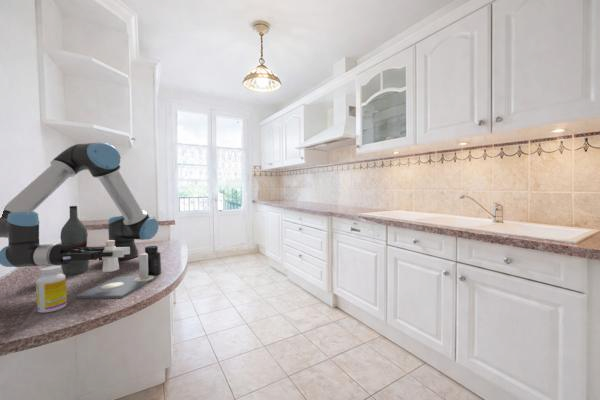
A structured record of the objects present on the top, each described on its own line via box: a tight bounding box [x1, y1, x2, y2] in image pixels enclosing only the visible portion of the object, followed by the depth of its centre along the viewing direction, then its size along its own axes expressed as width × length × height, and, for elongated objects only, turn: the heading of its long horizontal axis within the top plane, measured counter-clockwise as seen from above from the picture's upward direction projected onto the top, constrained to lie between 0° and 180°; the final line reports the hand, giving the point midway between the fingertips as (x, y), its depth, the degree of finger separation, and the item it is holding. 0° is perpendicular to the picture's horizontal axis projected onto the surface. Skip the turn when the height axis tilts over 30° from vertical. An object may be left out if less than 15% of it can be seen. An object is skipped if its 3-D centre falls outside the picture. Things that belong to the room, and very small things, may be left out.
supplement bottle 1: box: [35, 265, 68, 314], centre depth 80 cm, size 7×7×13 cm
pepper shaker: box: [102, 239, 120, 273], centre depth 96 cm, size 5×5×11 cm
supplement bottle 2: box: [144, 245, 162, 276], centre depth 114 cm, size 7×7×12 cm
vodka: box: [59, 205, 90, 276], centre depth 117 cm, size 9×9×30 cm
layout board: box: [75, 252, 157, 299], centre depth 98 cm, size 20×16×11 cm
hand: (126, 251), depth 97 cm, fingers closed on pepper shaker, 4 cm apart
